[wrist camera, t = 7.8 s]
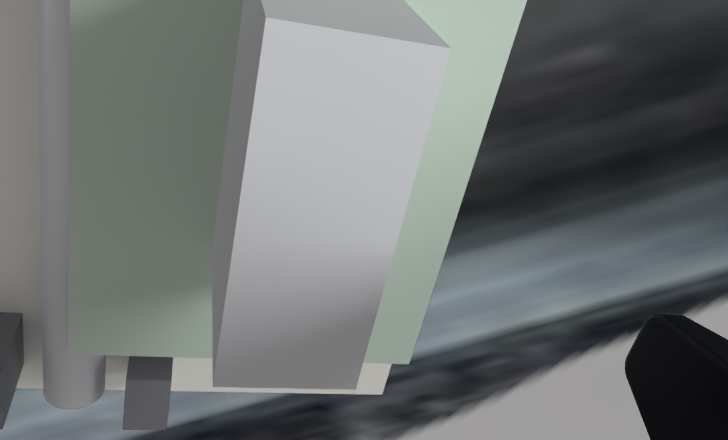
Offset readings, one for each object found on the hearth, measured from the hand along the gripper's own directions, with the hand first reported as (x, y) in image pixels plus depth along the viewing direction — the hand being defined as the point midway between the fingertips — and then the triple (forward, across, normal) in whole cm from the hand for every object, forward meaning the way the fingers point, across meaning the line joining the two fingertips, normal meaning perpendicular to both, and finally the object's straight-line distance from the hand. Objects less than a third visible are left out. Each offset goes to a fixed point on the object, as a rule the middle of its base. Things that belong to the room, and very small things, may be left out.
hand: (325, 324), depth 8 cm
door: (+8, 0, 0) cm, 8 cm away
